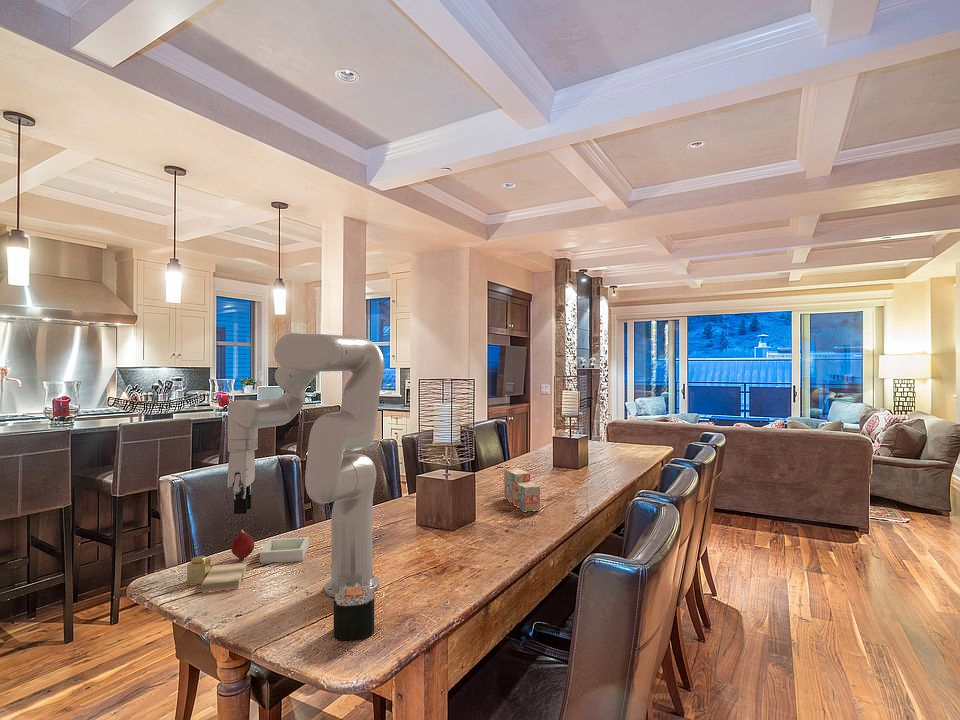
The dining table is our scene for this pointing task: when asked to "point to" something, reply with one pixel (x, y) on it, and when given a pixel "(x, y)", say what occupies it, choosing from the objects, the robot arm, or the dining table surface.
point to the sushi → (354, 613)
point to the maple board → (224, 577)
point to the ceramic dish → (284, 550)
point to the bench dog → (198, 570)
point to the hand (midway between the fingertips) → (242, 510)
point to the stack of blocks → (521, 489)
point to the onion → (242, 545)
